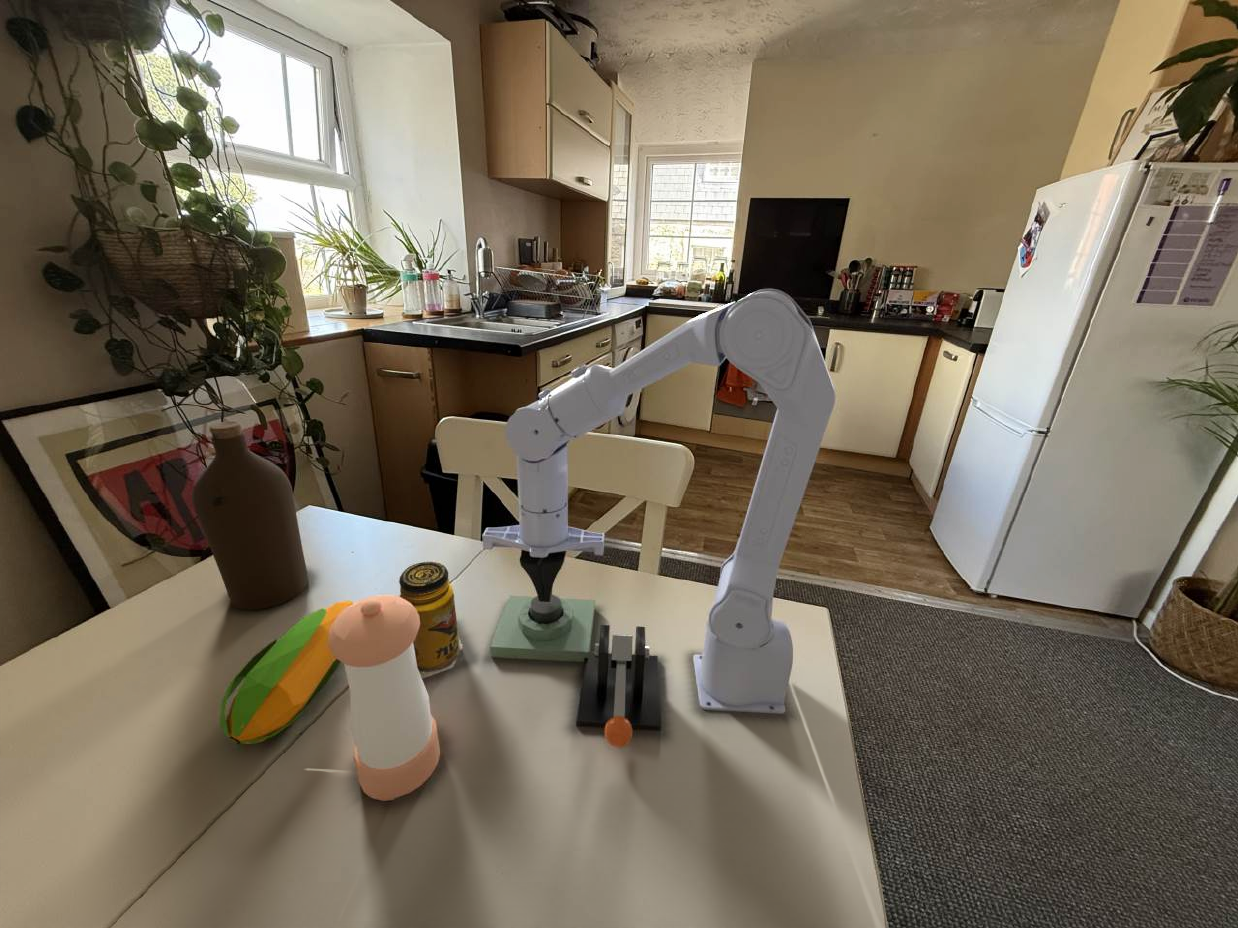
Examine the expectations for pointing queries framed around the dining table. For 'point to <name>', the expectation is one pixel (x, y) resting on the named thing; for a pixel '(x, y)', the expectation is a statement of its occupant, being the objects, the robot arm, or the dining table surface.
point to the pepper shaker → (386, 696)
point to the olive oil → (250, 523)
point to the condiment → (432, 616)
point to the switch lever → (620, 692)
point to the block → (544, 632)
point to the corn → (281, 679)
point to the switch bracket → (601, 686)
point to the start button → (545, 610)
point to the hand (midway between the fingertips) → (545, 596)
